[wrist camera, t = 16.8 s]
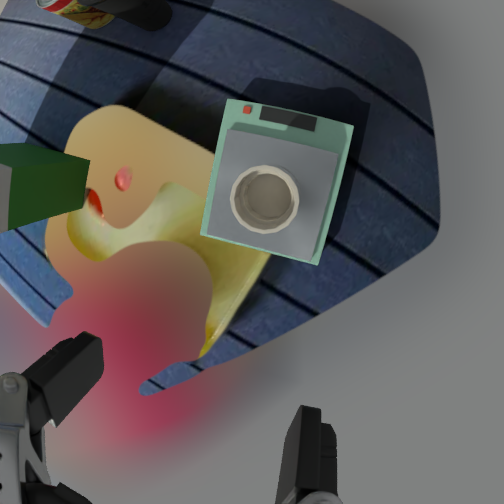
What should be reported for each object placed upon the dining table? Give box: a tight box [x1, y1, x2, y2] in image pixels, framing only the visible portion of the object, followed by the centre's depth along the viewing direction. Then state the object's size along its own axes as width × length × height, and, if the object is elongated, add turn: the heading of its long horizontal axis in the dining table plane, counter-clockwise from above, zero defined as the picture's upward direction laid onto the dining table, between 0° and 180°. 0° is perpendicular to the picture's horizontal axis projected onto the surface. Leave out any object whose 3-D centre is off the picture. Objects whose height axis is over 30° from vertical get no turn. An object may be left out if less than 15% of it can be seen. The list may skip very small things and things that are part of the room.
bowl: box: [230, 165, 300, 234], centre depth 30 cm, size 6×6×5 cm
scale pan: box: [207, 129, 339, 261], centre depth 32 cm, size 12×12×1 cm
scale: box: [200, 99, 354, 265], centre depth 34 cm, size 14×16×3 cm
